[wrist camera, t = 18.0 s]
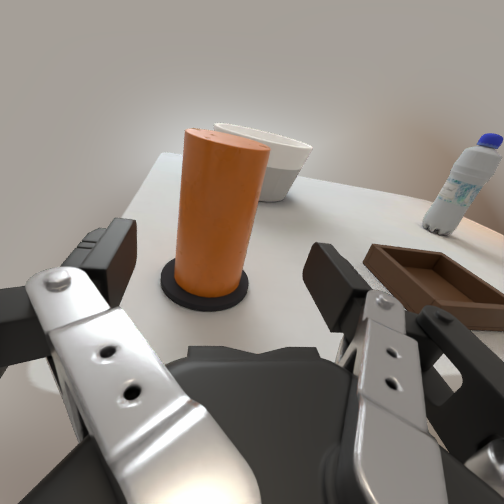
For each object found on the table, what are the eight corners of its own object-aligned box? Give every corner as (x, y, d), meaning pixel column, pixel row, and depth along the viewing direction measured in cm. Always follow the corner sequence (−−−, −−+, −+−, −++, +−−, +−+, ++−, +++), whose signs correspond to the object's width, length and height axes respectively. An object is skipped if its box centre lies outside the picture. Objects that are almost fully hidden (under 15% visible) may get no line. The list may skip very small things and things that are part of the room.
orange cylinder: (229, 306, 21) (264, 154, 15) (161, 285, 21) (168, 129, 15) (245, 268, 26) (275, 145, 20) (190, 252, 26) (203, 127, 20)
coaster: (236, 322, 20) (237, 317, 20) (142, 294, 21) (142, 288, 20) (254, 270, 27) (255, 266, 27) (183, 250, 28) (184, 245, 27)
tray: (509, 331, 27) (530, 311, 26) (423, 328, 25) (441, 305, 23) (430, 269, 37) (441, 252, 36) (362, 262, 34) (371, 243, 33)
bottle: (413, 221, 59) (466, 128, 49) (441, 228, 59) (500, 136, 49) (426, 232, 53) (489, 130, 44) (457, 240, 53) (528, 139, 43)
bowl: (294, 188, 62) (308, 142, 57) (299, 215, 45) (319, 153, 40) (217, 169, 62) (224, 121, 57) (194, 190, 45) (201, 124, 40)
